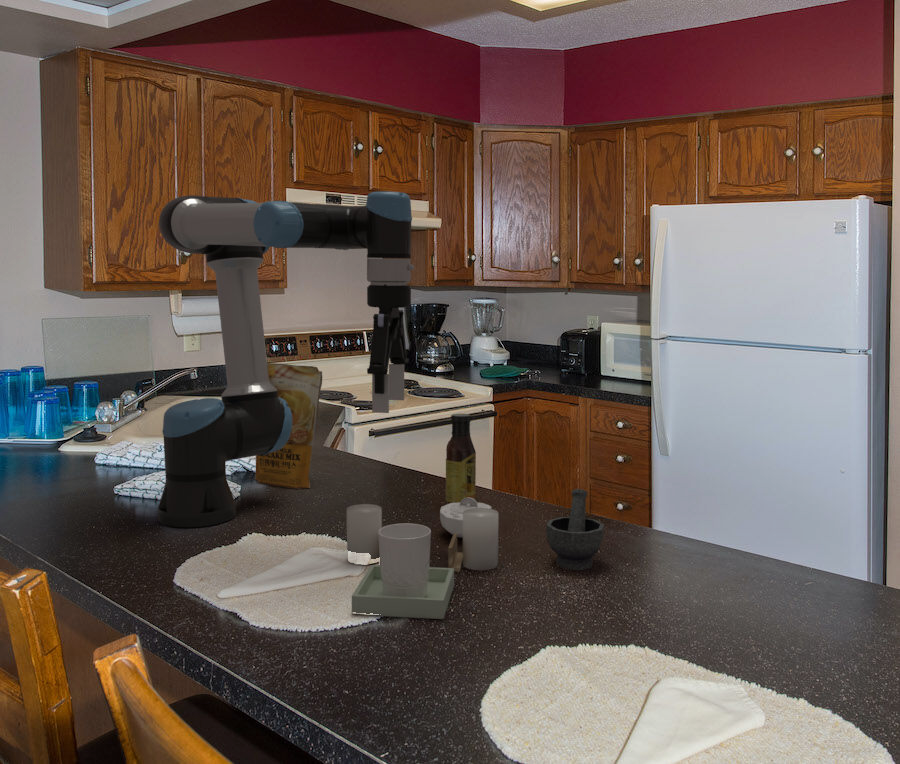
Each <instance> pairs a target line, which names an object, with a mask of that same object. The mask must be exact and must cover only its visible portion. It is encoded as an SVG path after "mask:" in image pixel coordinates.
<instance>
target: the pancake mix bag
mask: <svg viewBox="0 0 900 764" xmlns="http://www.w3.org/2000/svg"><path fill="white" fill-rule="evenodd" d="M267 366H268V375H269V382H270V384H271V385H273V386H274V387H275V388H276V389H277V391H278V397H279V398H282V399H284V400H285V401H286V402H287V404H288V407H290V410H291V413H292V431H291V435H290V437H289V440H288V441H287V442H286V444H285V446H284V447H283V448H281V449H280V450H278V451H275V452H271V453H268V454H266V455H257V456H255V473H254V474H255V475H254V478H253V479H254V480H255V481H257V482H258V484H263V485H268V486H272V487H273V486H274V487H281V488H282V487H283V488H286V489H293V490H301V489H311V482H310V477H309V474H310V468H311V463H312V462H311V461H312V458H313V457H312V456H313V448H314V447H313V446H314V440H315V433H316V428H317V427H316V425H317V419H318V416H319V413H318V412H319V404H320V396H321V389H322V386H323V385H322V384H323V371H321V370H319V369H318V367H317V366H312V365H296V364H288V363H275V362H267Z"/></svg>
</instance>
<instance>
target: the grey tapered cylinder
mask: <svg viewBox="0 0 900 764" xmlns="http://www.w3.org/2000/svg"><path fill="white" fill-rule="evenodd" d="M382 513H383V509H382V507H381V506H379V505H378V504H371V503H359V504H354V505H350V506H348V507H347V508H346V551H347V550H348V551H351V552H356V553H369V554H370V555H371V559H376V558H379V557H380V554H379V536H378V531H379V529H381V528H382V527H383V514H382Z"/></svg>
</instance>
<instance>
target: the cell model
mask: <svg viewBox="0 0 900 764" xmlns="http://www.w3.org/2000/svg"><path fill="white" fill-rule="evenodd" d="M472 508H488V509H493V508H492V506H491V505H489V504H487V503H484V502H477V500H476V499H475V500H474V499H473V498H470V497H467V498H464V499H463V500H462V501H461V502H460V503H450V504H447V505H446V504H444V505H442V506H441V507H440V510H439V519H440V524H441V526H442V528H444V529H445V530H446V531H447V532H448V533H449V534H451V535H452V536H453V534H454V533H457V538H463V511H465V510H467V509H472Z"/></svg>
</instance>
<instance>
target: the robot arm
mask: <svg viewBox="0 0 900 764" xmlns="http://www.w3.org/2000/svg"><path fill="white" fill-rule="evenodd" d="M158 218H159V219H158V226H159V227H158V228H159V231H160V234H161V236H162V238H163V240H164V241H165V243H167V244H168V245H169V246H171V247H172V248H173V249H175V250H178V251H180V252H182V253H185V254H186V253H187V254H195V255H205V259H206V266H207V267H208V268H210V269H211V270H212V271H214V273H215V282H216V292H217V299H218V300H217V301H218V311H219V319H220V327H221V328H220V329H221V339H222V346H223V355H224V356H223V357H224V363H225V364H224V367H225V373H226V382H227V383H226V384H227V385H226V388H225V389H224V391H223V392H222V394H220V395H221V396H220V397H221V399H219V398H215V397H214V398H213V397H212V398H211V397H204V398H199V399H198V398H197V399H190V400H185V401H182V402H179V403H176V404H173V405H172V406H170V407H168V408H167V409H166V410H165V411H164V413H163V418H162V419H163V421H162V422H163V423H162V431H161V432H162V435H163V452H164V453H163V454H164V456H163V457H164V472H165V482H164V486H163V489H162V493H161V497H160V499H159V500H160V501H159V503H158V507H157V521H158V522H159V524H162V525H164V526H169V527H175V528H199V527H207V526H208V527H209V526H214V525H215V526H216V525H218V524H223V523H225V522H228V521H230V520H232V519H234V518H235V517H236V515H237V505H236V501H235V498H234V496H233V493H232V491H231V488H230V486H229V482H228V480H227V474H226V473H227V472H226V465H227V464H226V462H228V461H229V462H230V461H232V460H233V461H234V460H239V459H244V458H250V457H251V458H252V457H256V456H257V455H266V454H268V453H271V452H275V451H278V450H280V449H281V448H283V447H284V446H285V444H286V442H287V441H288V440H289V437H290V435H291V431H292V413H291V410H290V407H288V404H287V402H286V401H285V400H284V399H282V398H279V397H278V391H277V389H276V388H275V387H274V386H273V385H271V384H270V382H269V375H268V366H267V363H268V360H267V350H266V340H265V332H264V331H265V330H264V322H263V321H264V319H263V313H262V311H263V310H262V304H261V303H262V302H261V295H260V294H261V293H260V284H259V276H258V275H259V274H258V269H259V268H260V266H262V264H263V263H264V255H265V253H267V252H268V251H269V250H270V247H273V248H275V249H289V248H290V249H291V248H292V249H333V250H339V251H340V250H343V251H347V250H361V249H366V250H367V253H366V280H367V282H368V283H370V284H369V285H368V286H367V287H366V288H367V289H366V293H367V294H366V301H367V302H366V304H367V306H368V307H369V308H370V307H371V308H378V313H374V314H373V317H372V319H373V324H372V325H373V326H372V327H373V329H372V337H371V338H372V339H371V348H370V356H369V365H368V368H366V372H367V374H368V375H371V378H372V379H371V382H372V383H371V388H372V389H371V391H372V392H371V395H372V396H371V397H372V398H371V400H372V401H371V402H372V403H371V404H372V405H371V408H372V409H371V410H372V413H374V414H375V413H376V414H377V413H379V414H389V413H390V401H404V400H405V365H408V364H409V363H410V362H409V361H410V358H409V357H408V354H407V348H406V347H407V345H406V335H405V324H404V313H405V312H404V310H403V309H401V308H408V307H410V306H411V304H412V303H411V302H412V288H411V286H410V285H408V283H409V282H411V279H412V278H411V277H412V276H411V275H412V274H411V271H414V270H415V266H414V264H411V258H412V220H413V216H412V203H411V197H410V195H409V194H407V193H405V192H400V191H372V192H369V193H368V194H367V197H366V204H365V205H338V204H337V205H336V204H321V203H306V202H293V201H287V200H274V201H273V200H272V201H271V200H269V201H264V202H257V201H254V200H251V199H243V198H241V197H225V196H224V197H222V196H221V197H220V196H203V195H195V194H194V195H192V194H191V195H183V196H179V197H176V198H174V199H171V200H170V201H169V202H167V203H166V204H165V206H164V207H163V208H162V209H161V212H160V214H159V217H158ZM399 308H400V309H399Z"/></svg>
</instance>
